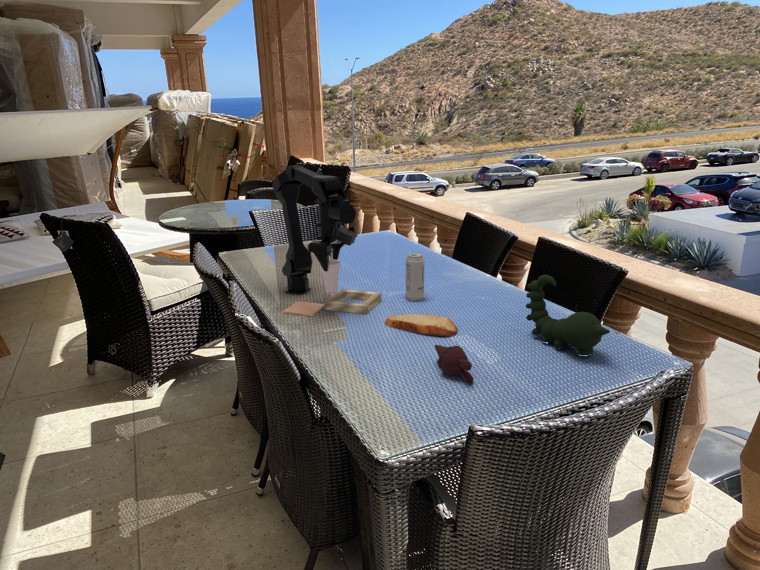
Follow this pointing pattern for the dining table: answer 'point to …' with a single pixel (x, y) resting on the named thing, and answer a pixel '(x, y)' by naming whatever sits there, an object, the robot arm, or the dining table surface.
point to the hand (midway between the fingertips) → (330, 268)
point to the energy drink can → (415, 277)
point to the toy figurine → (563, 322)
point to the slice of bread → (423, 324)
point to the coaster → (304, 308)
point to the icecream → (454, 361)
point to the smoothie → (331, 275)
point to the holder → (338, 305)
